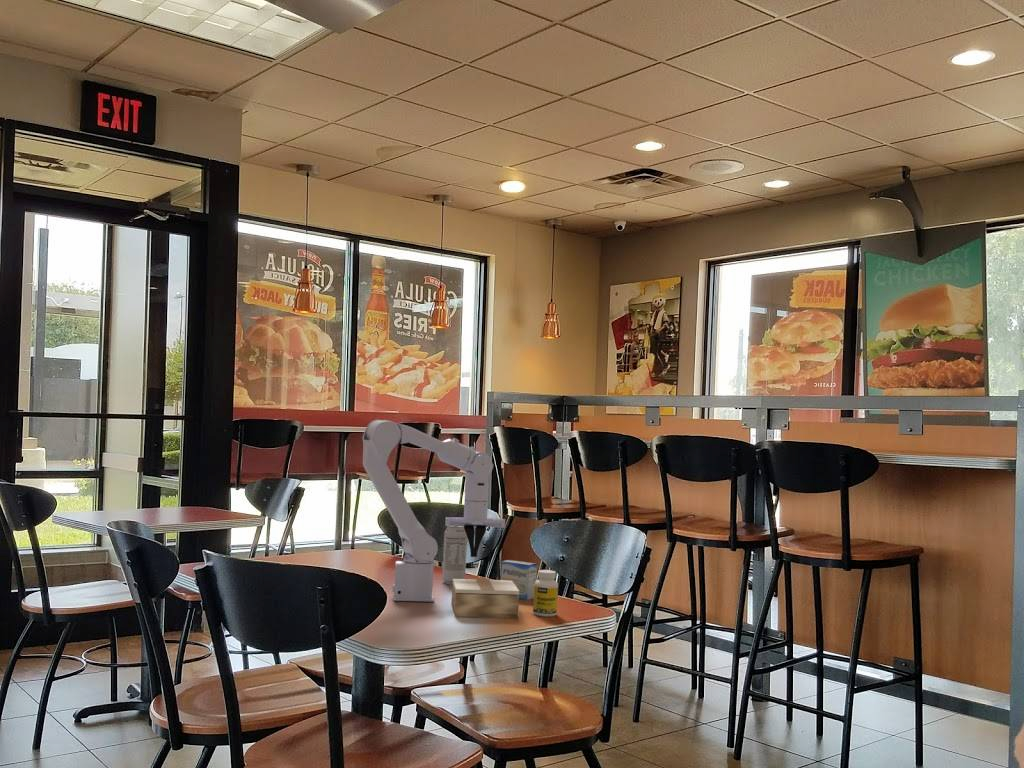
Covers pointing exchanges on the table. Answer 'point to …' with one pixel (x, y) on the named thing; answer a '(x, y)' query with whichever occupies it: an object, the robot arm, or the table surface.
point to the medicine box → (520, 577)
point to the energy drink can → (454, 554)
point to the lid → (485, 586)
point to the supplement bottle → (545, 594)
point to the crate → (484, 605)
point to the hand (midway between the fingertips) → (473, 556)
